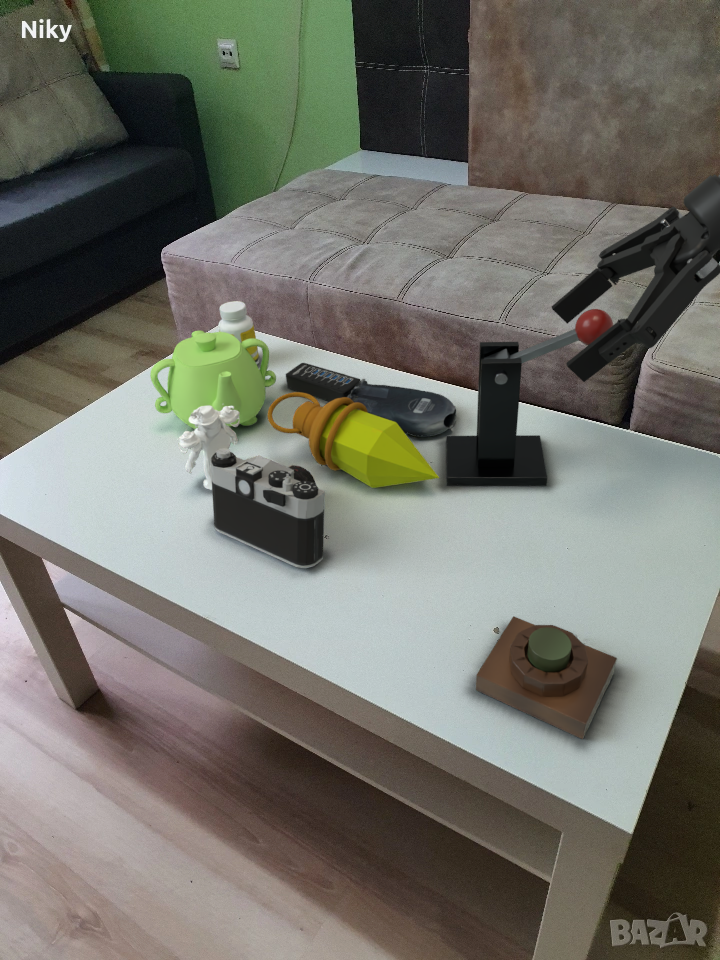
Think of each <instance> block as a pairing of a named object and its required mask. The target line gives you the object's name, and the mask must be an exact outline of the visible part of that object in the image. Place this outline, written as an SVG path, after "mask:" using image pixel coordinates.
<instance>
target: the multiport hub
mask: <svg viewBox="0 0 720 960" xmlns="http://www.w3.org/2000/svg"><path fill="white" fill-rule="evenodd" d="M360 381H361V379H360V378H359V377H355V376H351V375H348V374H345V373H342V372H337V371H334V370H331V369H327V368H323V367H320V366H318V365H314V364H311V363H308V362H307V363H306V362H301V363H299V364H297V365H296V366H295V367H293V368H292V369H291V370H289V371H288V372H286V373H285V382H286V387H287V389H289V390H292V391H294V392H302V393H307V394H310V395H312V396H313V397H315V398H316V399H317V398H318V399H320V400H322V401H326V402H330V401H332V400H334V399H337V398H342V397H348V395H350V394H351V390H353V389H354V388H355V386H357V385H358V384H359V382H360Z"/></svg>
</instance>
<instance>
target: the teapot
mask: <svg viewBox="0 0 720 960" xmlns="http://www.w3.org/2000/svg"><path fill="white" fill-rule="evenodd" d="M252 346H257V347H259V348H260V349H261V350H262V356H261V362H260V366H258V364H256V362H255V361H254V359H253V358H252V356H251V355H250V354H249V352H248V351H247V350H246V348H249V347H252ZM269 362H270V349H269V346H268V344H266V342H265V341H263V340H261V339H259V338H256V339H254V338H251V339H247V340H244V341H243V342H240V341H239V340H238V339H237V338H236V337H234V336H233V335H231V334H229V333H225V332H219V331H215V332H205V331H204V330H195V331H193V332H192V333H191V337H188V338H185V339H183V340H181V341H179V342H178V343H177V344H176V345H175V347H174V350H173V353H172V355H171V358H164V359H161V360H159V361H157V362H156V363H155V364H154V365H153V366H152V368H151V369H150V374H149V375H150V376H149V378H150V381H151V383H152V384H153V387H154V388H155V390H156V391H157V392H158V394H159V395H160V396H159V397H157V398H156V399H155V402H154V407H155V409H156V411H157V412H158V413H160V414H169V413H171V412H173V414H174V415H175V416H176V417H177V418H178V419H179V420H180V421H182V422H183V423H184V424H185V425H186V426H189V427H190V428H191V429H193V430H195V429H196V428H198V427H195V424H192V423H190V422H189V417H190V415H191V413H192V412H193V410H196V409H198V408H199V407H201V406H212V407H213V408H214V410H217V411H221V410H222V409H223V407H225V406H234V409H233V408H231V410H237V411H239V412H240V415H238V416H240V417H239V418H240V422H239V425H241V426H246V427H247V426H252V425H254V424H256V423H257V422H258V418H257V415H258V414H259V413H260V411H261V410H262V408H263V406H264V404H265V399H266V394H267V392H266V388H270V387H272V386H273V385H274V384H276V382H277V375H276V373H275V372H274V371H273V370H271V369H270V370H269V369H268V367H269ZM166 368H169V369H168V372H167V373H168V375H167V383H166V384H167V385H166V386H167V390H165V388H164V386H163V385H162V384H161V382H160V380H159V376H158V375H159V373H160V372H161V371H162V370H165V369H166ZM268 376H270V377H269V378H267V379H266V377H268ZM164 402H165V403H166V404H165V405H161V404H162V403H164ZM223 403H224V404H223ZM222 404H223V405H222ZM192 414H193V413H192ZM238 421H239V419H237V420H236V421H235V422H233V423H231V424H237V423H238ZM225 424H226V423H225ZM231 424H230V423H229V424H226V425H228V426H229V427H230V428H231V427H233V426H232V425H231Z"/></svg>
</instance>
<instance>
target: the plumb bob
mask: <svg viewBox="0 0 720 960" xmlns="http://www.w3.org/2000/svg"><path fill="white" fill-rule="evenodd" d="M292 398H304V399H306V400H307V401H304V402H303V403H301V404H300V405H299V406H298V407H297V408H296V410H295V411H294V413H293V417H292V428H289V427H288V428H287V427H284V426H281V425H279V424H278V423H276V422H275V420H274V417H273V413H274V410H275V408H276V406H278V405H279V404H280V403H281V402H283V401H285V400H287V399H292ZM358 409H359V410H358ZM267 420H268V423H269V424H270V426H271V427H272V428H273V429H274V430H276V431H278V432H279V433H284V434H297V435H299V436H302V437H304V438H307V439H308V446H309V449H310V453H311V456H312V457H313V459H314V460H315V462H316V463H318V464H319V465H322V466H327V467H328V468H329V469H330V470H332V471H341V470H342V471H343V472H345V473H346V474H348V475H350V476H352V477H353V478H354V479H357V480H358V481H360V482H362V483H363V484H365V485H367V486H368V487H370V488H372V489H376V488H383V487H390V486H397V485H404V484H410V483H416V482H424V481H429V480H437V479H440V476H439V475H438V474H437V473H436V471H435V470H434V468H433V467H432V466H431V465H430V463H429V462H428V461H427V460H426V459H425V457H424V456H423V454H422V453H421V452H420V451H419V449H418V448H417V447H416V446H415V444H414V443H413V442H412V441H411V439H410V438H409V437H408V436H407V435H408V434H405V433H404V432H403V430H402V429H401V428H400V427H399V425H398V424H397V423H396V422H394V421H391V420H388V419H385V418H382V417H379V416H376V415H373V414H370V413H368V412H367V409H366V407H365V406H364V405H363V404H362V403H359V402H355V403H354V402H353V401H352V400H351V399H350V398H347V397H342V398H337V399H334V400H332V401H330V402H329V401H327V403H325V404H324V405H323V406H321V404H320V401H319V400H318V399H317V398H316V397H313V396H312V395H310V394H307V393H302V392H297V391H294V392H293V391H292V392H288V393H284V394H282V395H281V396H279V397H277V398H276V399H275V400H274V401H272V403H271V404H270V405H269V407H268V409H267Z"/></svg>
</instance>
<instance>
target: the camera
mask: <svg viewBox="0 0 720 960" xmlns="http://www.w3.org/2000/svg"><path fill="white" fill-rule="evenodd" d="M210 465H211V478H212V490H211V493H212V508H213V509H212V511H213V527H214V529H215V531H216V532H218V533H220V534H222V535H225V536H227V537H229V538H231V539H234V540H235V541H238V542H240V543H242V544H244V545H246V546H249V547H251V548H254V549H256V550H258V551H260V552H262V553H265V554H267V555H269V556H271V557H273V558H275V559H277V560H280V561H282V562H284V563H287V564H288V565H291V566H292V567H295V568H299V569H300V568H301V569H307V568H312V567H315V566H316V565H318V564H319V563H320V562H321V561H323V559H324V545H325V544H324V539H325V536H324V535H325V503H326V502H325V501H326V500H325V498H326V495H325V493H326V491H325V490H324V489H321V488H319V486H318V485H317V482H316V480H315V478H314V476H313V475H312V473H311V472H310V471H309V470H307V469H306V468H305V467H302V466H300V465H294V464H291V465H289V466H286V465H283V464H281V463H279V462H276V461H275V460H273V459H270V458H267V457H266V456H265V457H264V456H263V455H257V456H253V457H249V458H246V459H242V458H241V457H238V456H236V454H235V453H234V452H232V451H231V450H230V448H229V449H227V448H221V449H218V450H217V452H216V453H215V454H214V455H213V456H212V457H211V463H210Z"/></svg>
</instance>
